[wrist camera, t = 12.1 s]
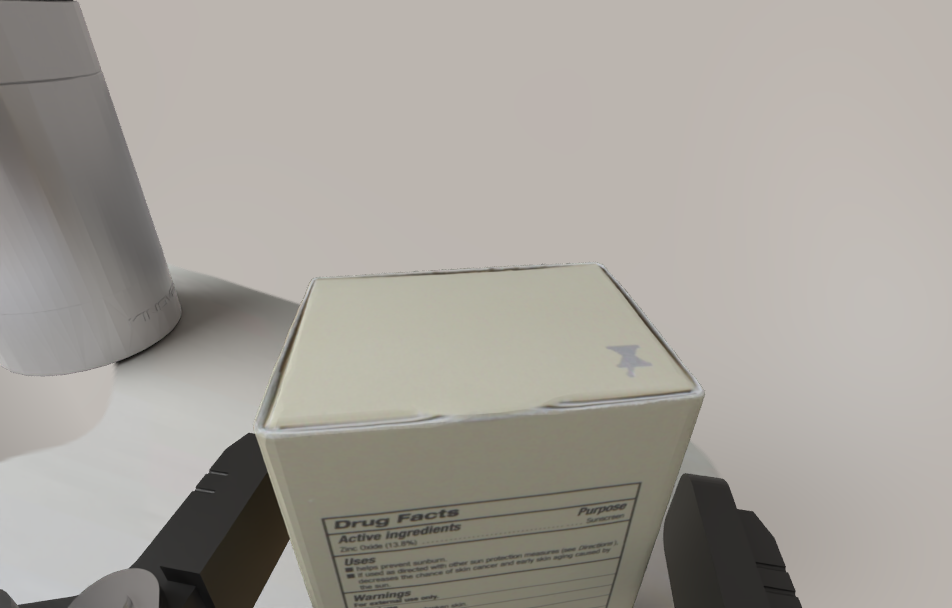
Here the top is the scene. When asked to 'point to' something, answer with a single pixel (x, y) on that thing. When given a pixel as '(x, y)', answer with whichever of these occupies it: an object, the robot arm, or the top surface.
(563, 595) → the skincare box
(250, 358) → the top surface
